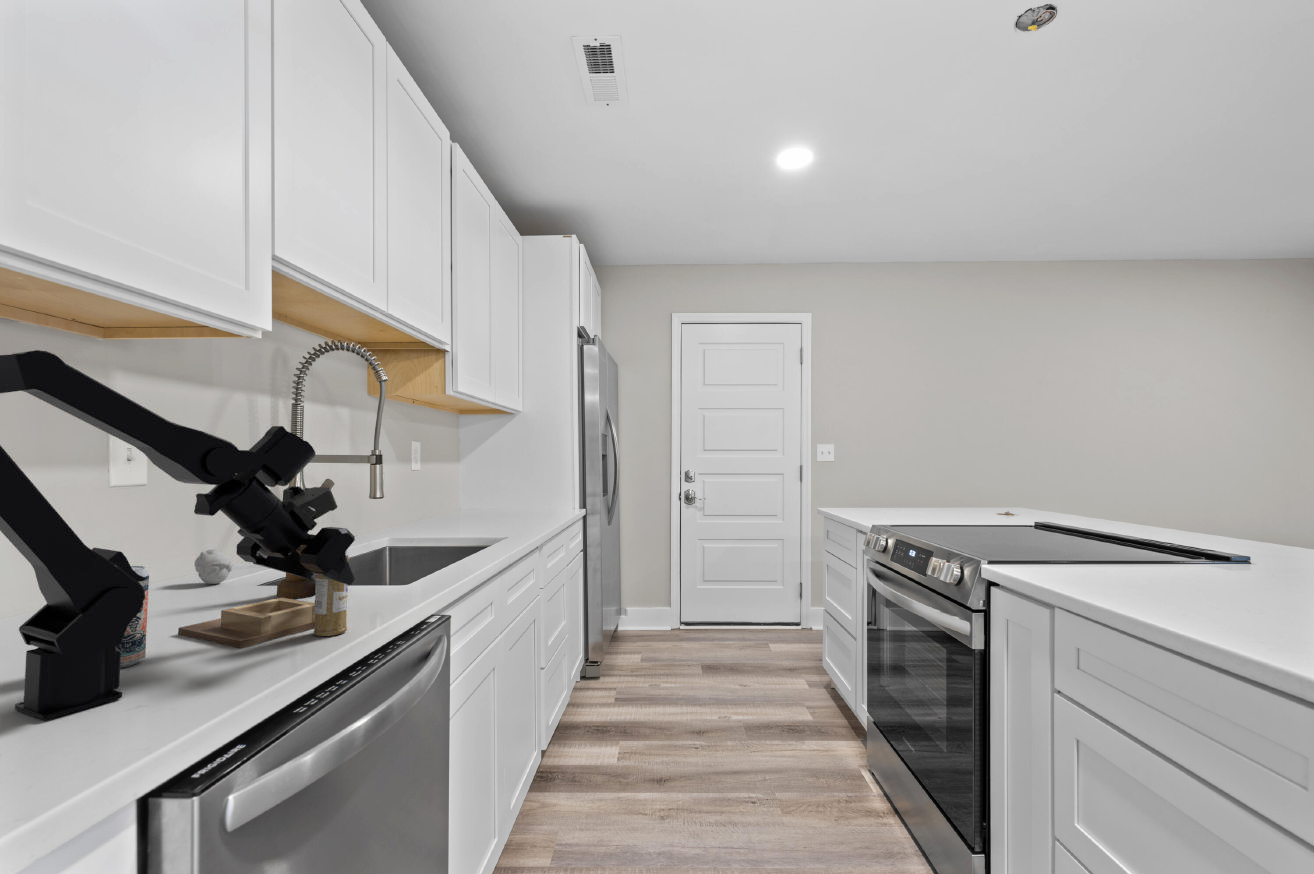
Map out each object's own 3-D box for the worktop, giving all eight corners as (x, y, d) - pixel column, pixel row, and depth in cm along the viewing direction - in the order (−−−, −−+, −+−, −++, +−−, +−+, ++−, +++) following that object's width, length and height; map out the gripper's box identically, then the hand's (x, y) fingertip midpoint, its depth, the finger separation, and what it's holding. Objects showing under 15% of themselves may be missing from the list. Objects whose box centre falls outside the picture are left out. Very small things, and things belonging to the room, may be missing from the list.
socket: (240, 648, 83) (241, 622, 83) (178, 634, 89) (179, 610, 89) (337, 622, 97) (337, 600, 97) (277, 611, 103) (278, 590, 103)
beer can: (109, 673, 73) (114, 573, 74) (85, 667, 75) (90, 570, 75) (154, 660, 78) (158, 567, 78) (130, 656, 79) (134, 564, 80)
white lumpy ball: (215, 579, 127) (216, 546, 128) (240, 582, 125) (241, 548, 126) (185, 585, 122) (186, 550, 122) (211, 588, 120) (212, 552, 120)
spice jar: (348, 634, 90) (352, 544, 91) (314, 639, 88) (317, 546, 88) (345, 626, 94) (348, 540, 95) (311, 631, 92) (314, 542, 92)
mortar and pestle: (270, 599, 111) (274, 501, 111) (283, 592, 117) (287, 499, 118) (310, 598, 112) (314, 501, 113) (321, 590, 119) (324, 499, 119)
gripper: (344, 470, 83) (407, 541, 92) (260, 467, 91) (326, 532, 101) (285, 534, 76) (360, 604, 85) (200, 525, 84) (277, 589, 93)
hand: (331, 579), depth 91 cm, fingers open, 9 cm apart
